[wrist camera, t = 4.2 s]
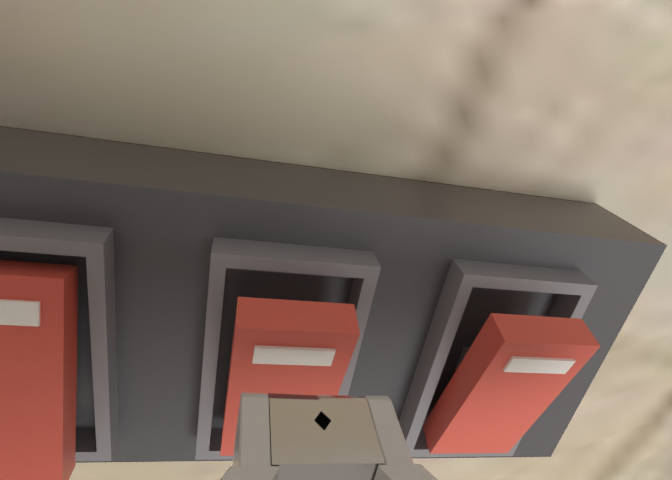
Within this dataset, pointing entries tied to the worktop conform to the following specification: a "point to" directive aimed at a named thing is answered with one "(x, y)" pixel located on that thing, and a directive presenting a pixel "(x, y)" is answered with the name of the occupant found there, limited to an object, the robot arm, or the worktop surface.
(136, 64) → the worktop surface
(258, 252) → the rocker switch panel
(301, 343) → the rocker
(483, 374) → the rocker
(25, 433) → the rocker
